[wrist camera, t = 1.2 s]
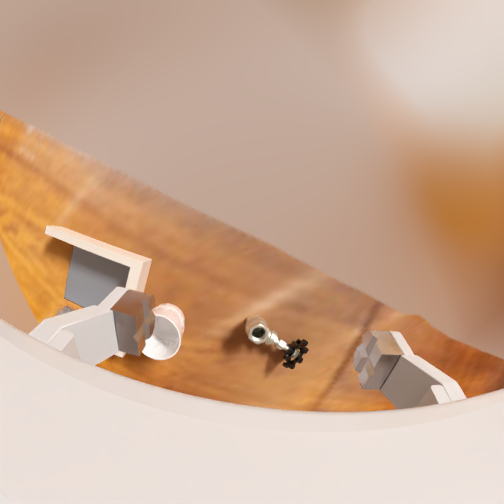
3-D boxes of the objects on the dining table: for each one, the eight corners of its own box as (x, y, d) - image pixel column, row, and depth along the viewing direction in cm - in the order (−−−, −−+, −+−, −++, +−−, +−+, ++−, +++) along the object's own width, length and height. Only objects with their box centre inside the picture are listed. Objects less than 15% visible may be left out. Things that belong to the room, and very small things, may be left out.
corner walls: (131, 346, 49) (122, 357, 43) (48, 307, 46) (33, 314, 40) (152, 259, 48) (143, 262, 42) (62, 226, 46) (46, 225, 40)
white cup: (141, 319, 49) (124, 337, 39) (165, 291, 49) (152, 303, 39) (171, 346, 49) (161, 368, 40) (196, 319, 50) (190, 337, 40)
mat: (124, 323, 48) (123, 324, 48) (65, 297, 46) (64, 297, 46) (137, 266, 48) (136, 266, 48) (75, 243, 46) (74, 243, 46)
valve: (235, 329, 51) (282, 360, 52) (237, 342, 44) (290, 375, 46) (256, 303, 51) (303, 336, 52) (261, 312, 44) (313, 348, 46)
